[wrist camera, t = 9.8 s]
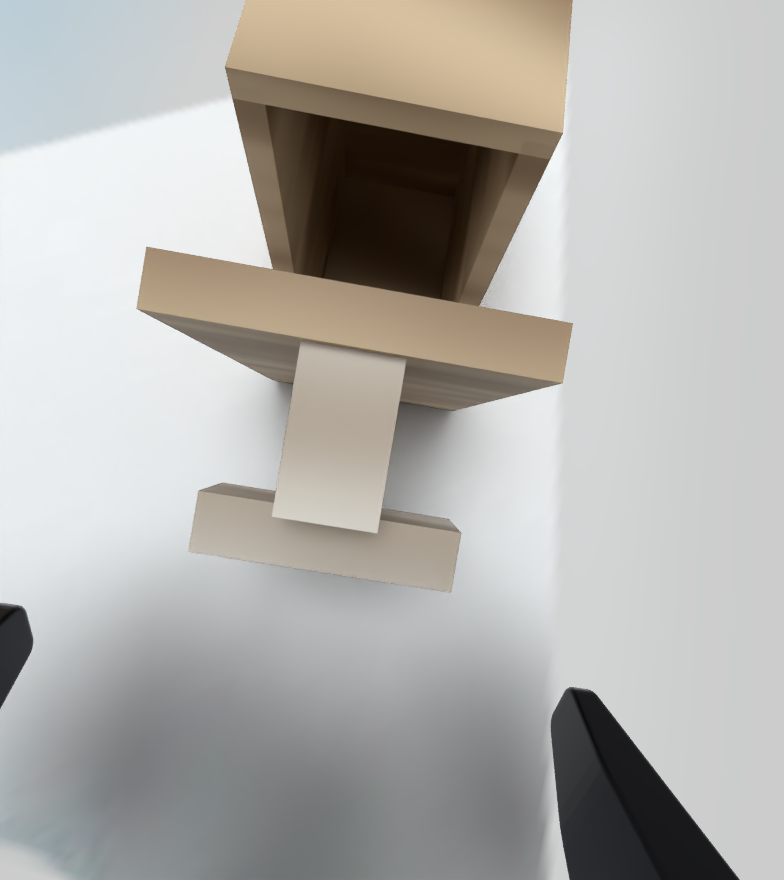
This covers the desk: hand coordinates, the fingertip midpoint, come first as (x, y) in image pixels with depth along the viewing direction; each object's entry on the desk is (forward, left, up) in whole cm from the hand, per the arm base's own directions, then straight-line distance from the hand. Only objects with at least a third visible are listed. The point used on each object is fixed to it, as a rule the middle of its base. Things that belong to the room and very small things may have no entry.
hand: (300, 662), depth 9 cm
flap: (+2, -6, -10) cm, 12 cm away
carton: (+5, -13, -10) cm, 17 cm away
